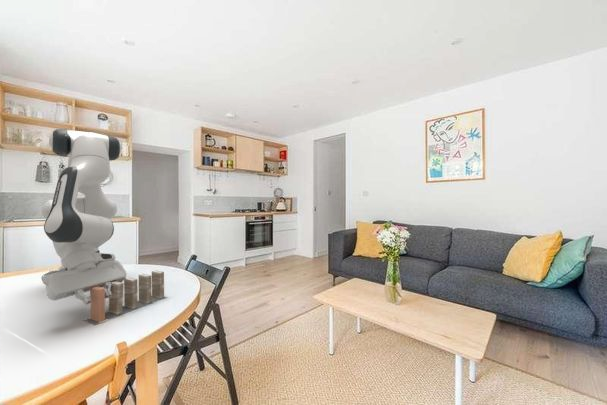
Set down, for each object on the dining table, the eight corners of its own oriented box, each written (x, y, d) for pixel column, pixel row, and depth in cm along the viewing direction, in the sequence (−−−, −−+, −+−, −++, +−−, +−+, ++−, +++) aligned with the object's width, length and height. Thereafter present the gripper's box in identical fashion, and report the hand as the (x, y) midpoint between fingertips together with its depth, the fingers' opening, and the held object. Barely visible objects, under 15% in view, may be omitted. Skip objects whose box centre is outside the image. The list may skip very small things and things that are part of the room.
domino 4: (160, 299, 97) (160, 272, 97) (151, 296, 99) (151, 271, 99) (164, 297, 98) (163, 271, 98) (155, 295, 101) (155, 270, 100)
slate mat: (82, 321, 80) (82, 319, 80) (155, 295, 102) (155, 294, 102) (94, 326, 77) (94, 324, 77) (167, 298, 99) (167, 297, 99)
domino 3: (147, 303, 92) (147, 276, 92) (138, 301, 95) (138, 274, 94) (151, 302, 94) (151, 275, 94) (143, 299, 96) (142, 273, 96)
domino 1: (117, 315, 83) (118, 284, 84) (108, 312, 86) (109, 282, 86) (122, 313, 85) (123, 283, 85) (113, 310, 87) (114, 280, 87)
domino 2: (132, 309, 88) (132, 280, 88) (124, 306, 90) (124, 278, 90) (137, 307, 89) (137, 279, 89) (129, 304, 92) (128, 277, 91)
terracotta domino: (96, 316, 82) (96, 286, 82) (105, 320, 80) (104, 288, 80) (90, 318, 81) (90, 287, 81) (99, 322, 79) (98, 290, 79)
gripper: (42, 266, 74) (59, 306, 70) (119, 253, 92) (135, 284, 88) (36, 279, 76) (51, 319, 72) (112, 264, 94) (128, 294, 90)
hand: (98, 299), depth 80 cm, fingers open, 4 cm apart
